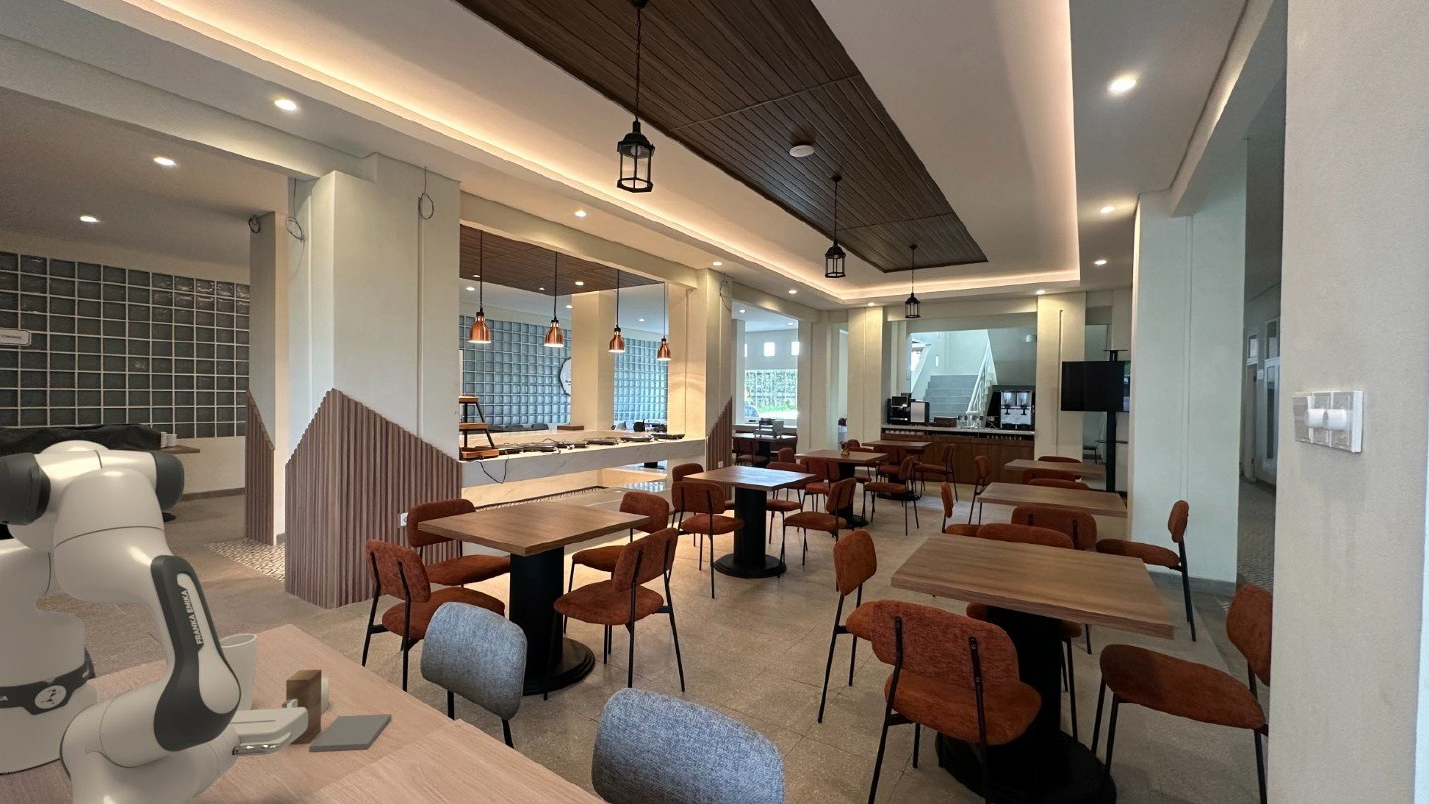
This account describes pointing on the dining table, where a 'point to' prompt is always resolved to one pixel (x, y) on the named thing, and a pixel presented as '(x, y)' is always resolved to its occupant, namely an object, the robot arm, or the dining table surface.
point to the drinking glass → (242, 663)
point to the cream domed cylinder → (324, 692)
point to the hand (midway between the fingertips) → (263, 705)
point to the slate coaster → (351, 733)
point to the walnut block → (307, 700)
